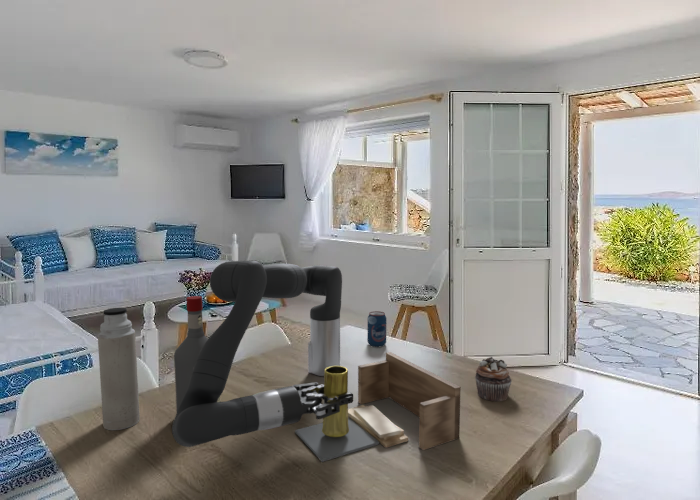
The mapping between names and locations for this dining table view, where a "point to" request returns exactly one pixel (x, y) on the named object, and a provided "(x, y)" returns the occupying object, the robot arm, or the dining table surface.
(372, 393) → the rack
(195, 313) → the liquor
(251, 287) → the robot arm
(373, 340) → the soda can
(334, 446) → the mat
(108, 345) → the thermos bottle
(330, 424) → the vase
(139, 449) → the dining table surface
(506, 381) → the cupcake
